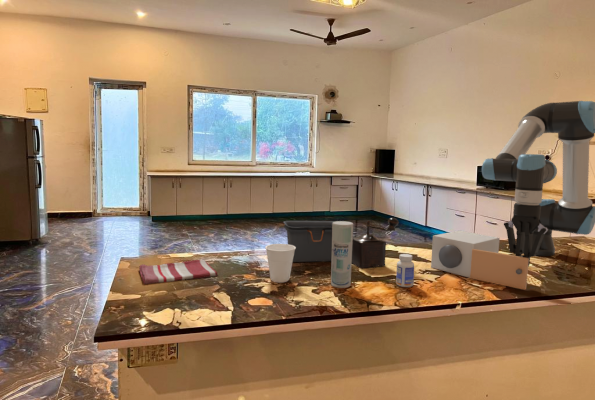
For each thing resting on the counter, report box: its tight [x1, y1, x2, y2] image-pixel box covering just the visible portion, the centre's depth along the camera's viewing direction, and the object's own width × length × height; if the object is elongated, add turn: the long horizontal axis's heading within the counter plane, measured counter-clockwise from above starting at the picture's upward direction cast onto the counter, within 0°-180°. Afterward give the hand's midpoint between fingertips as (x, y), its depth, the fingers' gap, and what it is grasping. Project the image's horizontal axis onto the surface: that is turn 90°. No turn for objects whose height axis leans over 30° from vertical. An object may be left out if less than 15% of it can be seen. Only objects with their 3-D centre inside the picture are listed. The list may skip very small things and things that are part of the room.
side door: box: [470, 249, 530, 290], centre depth 138 cm, size 17×2×10 cm, turn 49°
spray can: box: [330, 220, 354, 289], centre depth 134 cm, size 6×6×20 cm
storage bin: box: [283, 220, 334, 263], centre depth 164 cm, size 21×16×14 cm
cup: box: [264, 243, 296, 284], centre depth 138 cm, size 10×10×11 cm
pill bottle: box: [395, 253, 415, 288], centre depth 136 cm, size 5×5×10 cm
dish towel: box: [139, 259, 219, 285], centre depth 144 cm, size 17×23×3 cm
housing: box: [430, 230, 500, 279], centre depth 156 cm, size 20×16×12 cm
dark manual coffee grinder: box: [351, 217, 399, 269], centre depth 160 cm, size 16×11×18 cm
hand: (521, 275), depth 137 cm, fingers closed
